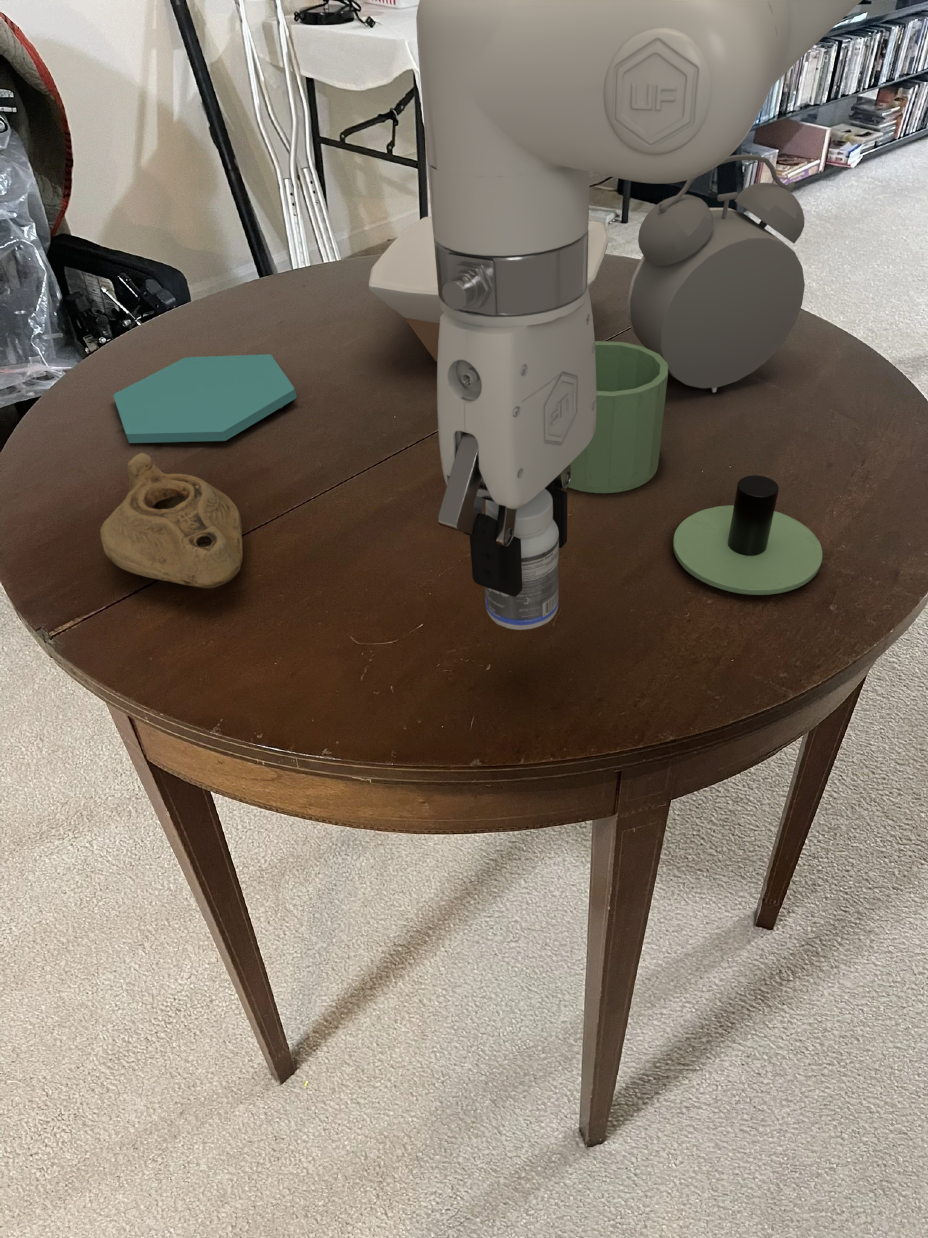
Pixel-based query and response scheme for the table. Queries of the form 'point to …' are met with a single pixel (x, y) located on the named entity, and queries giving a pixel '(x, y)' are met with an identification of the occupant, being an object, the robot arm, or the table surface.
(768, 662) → the table surface
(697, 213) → the alarm clock
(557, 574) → the pill bottle
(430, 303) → the bowl
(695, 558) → the tin lid
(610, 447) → the cup
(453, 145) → the robot arm
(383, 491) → the table surface
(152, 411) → the plaque
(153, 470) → the oil lamp
